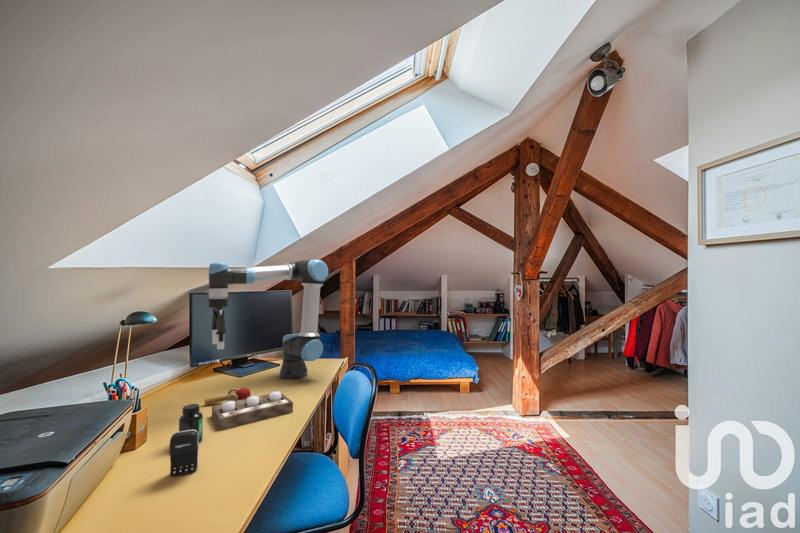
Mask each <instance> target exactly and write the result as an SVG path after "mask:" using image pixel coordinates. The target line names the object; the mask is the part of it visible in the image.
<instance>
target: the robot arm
mask: <svg viewBox="0 0 800 533" xmlns="http://www.w3.org/2000/svg"><path fill="white" fill-rule="evenodd" d="M328 275H329V267H328V266H327V264H326V263H325V261H323V260H321V259H303V260H298V261H293V262H285V264H281V265H280V264H278V265H262V266H261V265H260V266H259V265H258V266H247V267H246V266H245V267H229V264H228V263H225V262H212V263H210V264H209V266H208V290H206V291H207V292H206V293H207V294H208V298H209V299H208V308H210V309H211V308H212V318H211V319H212V320H211V329H212V331H211V332H212V333H211V334H212V339H211V340H212V341H211V342H212V344H211V345H212V346H213V345H216V350H217V351H218V350H225V334H226V324H225V323H226V322H225V310H224V309H223V308H227V307H228V306H229V299H228V298H227V297H229V285H249V284H250V285H251V284H253V283H254V282H263V281H273V280H284V279H285V280H287V281H301V285H302V286H303V298H302V311H301V312H302V313H301V323H300V326H301V327H300V332H299V333H293V334H291V333H290V334H285V335H284V336H283V337H282V363H281V367H280V368H279V369H280V370H279V373H278V374H279V378H280V379H282V380H283V379H284V380H295V378H296V379H300V378H304V377H306V376H307V375H308V371H309V370H308V367H307V364H306V362H314V361H317V360H318V359H319V358H320V357H321V356H322V354H323V351H324V345H323V343H322V341H321V340H320V339H321V338H320V337H321V335H320V334H319V332H318V327H319V326H318V324H319V311H320V310H319V309H320V297H321V296H320V295H321V287H323V286H324V281H325V280H326V279H327V278H328Z"/></svg>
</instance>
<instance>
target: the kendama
mask: <svg viewBox="0 0 800 533" xmlns="http://www.w3.org/2000/svg"><path fill="white" fill-rule="evenodd" d="M250 396H251V391H250V388H248V387H240V388H239V389H237V388H231V389H230V390H228V392H227V395H221V396H214V397H210V398H205V399H204V405H205V407H207V406H210V405H211V406H212V405H214V404H217V403H221V402H226V401H238V400H243V399H247V398H248V397H250Z"/></svg>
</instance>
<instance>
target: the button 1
mask: <svg viewBox="0 0 800 533" xmlns="http://www.w3.org/2000/svg"><path fill="white" fill-rule="evenodd" d="M221 404H222V413H226V412H231V411H235V401H226V400H225V401H222V403H221Z"/></svg>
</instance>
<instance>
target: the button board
mask: <svg viewBox="0 0 800 533" xmlns="http://www.w3.org/2000/svg"><path fill="white" fill-rule="evenodd" d="M258 396H259V405H257V406H253V407H248V408H247V399H243V400H238V401H235V411H231V412H226V413H222V403H221V404H216V405H211V417H212V419H213V421H214V422H215V424H216V426H217V429H218V430H219V431H222V430H226V429H229V428H230V429H231V428H234V427H238V426H241V425H242V426H243V425H245V424H250V423H255V422H258V420H259V421H261V420H262V419H263V420H266V418H267V419H271V418H273V417H278V416H282V415H286V414H290V413H293V412H294V402H293V401H292V399H289V397H287V396H286V395H285V394H283V393H282V392H281V400H280V401H275V402H270V393H268V394H262V395H258ZM270 417H271V418H270ZM254 421H255V422H254Z"/></svg>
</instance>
